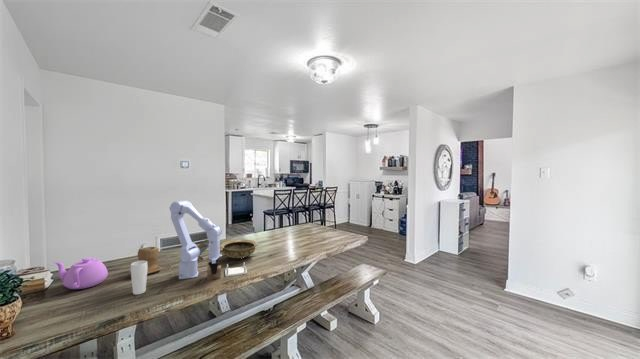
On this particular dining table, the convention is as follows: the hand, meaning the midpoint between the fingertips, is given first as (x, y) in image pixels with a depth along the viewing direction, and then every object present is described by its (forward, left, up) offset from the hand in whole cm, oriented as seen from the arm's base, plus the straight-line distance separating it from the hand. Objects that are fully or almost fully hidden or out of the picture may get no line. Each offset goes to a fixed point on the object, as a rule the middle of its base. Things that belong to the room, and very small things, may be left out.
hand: (214, 271), depth 141 cm
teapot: (-65, +12, -4) cm, 66 cm away
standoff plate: (+12, +4, -4) cm, 13 cm away
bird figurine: (-12, +32, -4) cm, 34 cm away
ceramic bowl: (+15, +29, -4) cm, 33 cm away
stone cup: (-38, +19, -4) cm, 43 cm away
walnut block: (0, 0, -4) cm, 4 cm away
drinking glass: (-34, -7, -4) cm, 35 cm away
